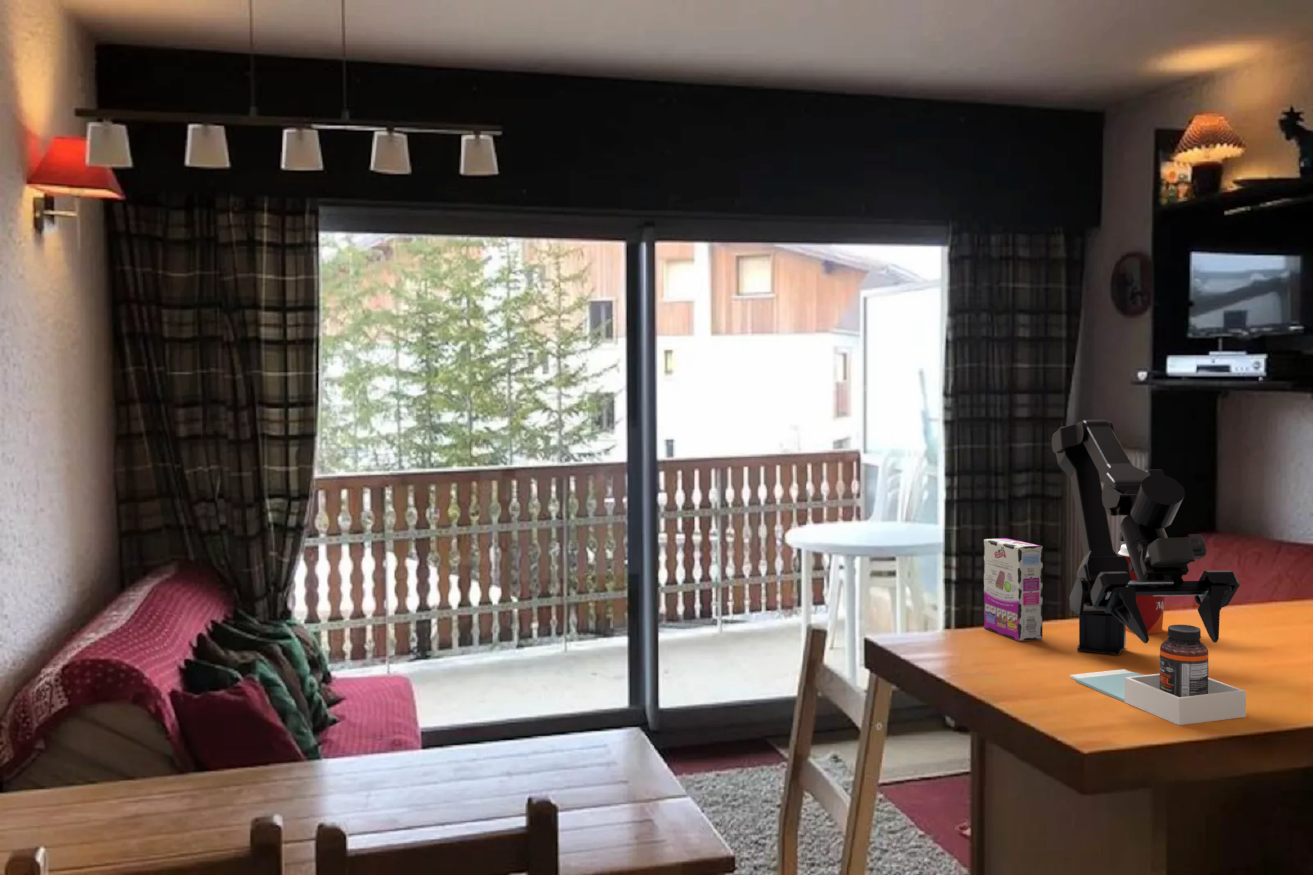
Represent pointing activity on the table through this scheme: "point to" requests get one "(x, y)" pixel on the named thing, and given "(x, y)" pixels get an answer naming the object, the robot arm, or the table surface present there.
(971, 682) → the table surface
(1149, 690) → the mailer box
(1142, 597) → the coffee cup
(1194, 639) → the supplement bottle
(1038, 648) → the table surface
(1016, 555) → the candy bar box
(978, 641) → the table surface
